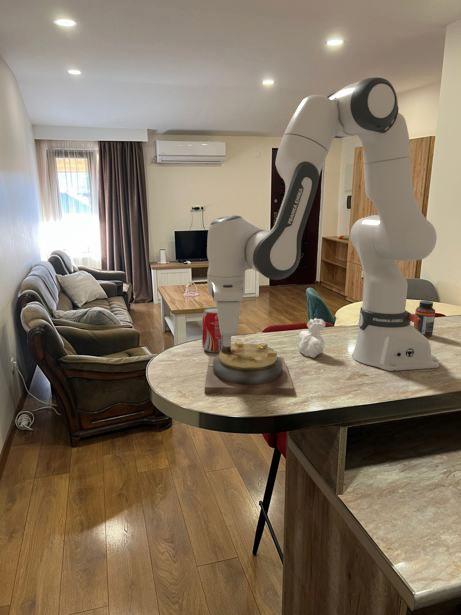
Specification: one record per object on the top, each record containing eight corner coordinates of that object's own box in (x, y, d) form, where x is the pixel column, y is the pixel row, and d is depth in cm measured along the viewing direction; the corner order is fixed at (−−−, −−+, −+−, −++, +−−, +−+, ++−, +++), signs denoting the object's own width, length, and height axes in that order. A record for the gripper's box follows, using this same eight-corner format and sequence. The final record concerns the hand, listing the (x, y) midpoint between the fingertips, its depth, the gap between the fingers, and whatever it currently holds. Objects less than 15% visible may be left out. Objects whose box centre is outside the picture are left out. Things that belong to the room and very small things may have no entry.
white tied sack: (321, 367, 121) (345, 334, 121) (302, 353, 118) (327, 320, 118) (301, 353, 132) (323, 323, 132) (284, 340, 129) (306, 309, 129)
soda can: (203, 345, 131) (203, 306, 128) (226, 346, 131) (227, 307, 128) (201, 353, 124) (200, 312, 121) (225, 354, 124) (226, 313, 121)
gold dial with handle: (225, 349, 115) (225, 316, 113) (278, 353, 113) (279, 319, 111) (213, 368, 102) (213, 331, 100) (273, 373, 99) (275, 335, 97)
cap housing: (283, 362, 118) (283, 348, 117) (293, 394, 98) (294, 377, 97) (209, 361, 118) (209, 347, 117) (204, 393, 98) (204, 376, 97)
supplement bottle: (409, 332, 147) (412, 299, 144) (426, 332, 147) (430, 299, 145) (418, 338, 141) (422, 303, 138) (436, 337, 142) (440, 303, 139)
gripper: (211, 278, 113) (211, 330, 116) (214, 295, 93) (214, 356, 96) (235, 278, 113) (235, 329, 116) (243, 295, 93) (243, 356, 97)
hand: (226, 342), depth 106 cm, fingers open, 4 cm apart
